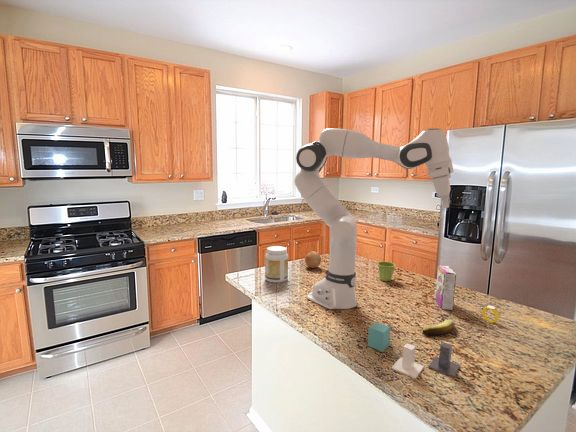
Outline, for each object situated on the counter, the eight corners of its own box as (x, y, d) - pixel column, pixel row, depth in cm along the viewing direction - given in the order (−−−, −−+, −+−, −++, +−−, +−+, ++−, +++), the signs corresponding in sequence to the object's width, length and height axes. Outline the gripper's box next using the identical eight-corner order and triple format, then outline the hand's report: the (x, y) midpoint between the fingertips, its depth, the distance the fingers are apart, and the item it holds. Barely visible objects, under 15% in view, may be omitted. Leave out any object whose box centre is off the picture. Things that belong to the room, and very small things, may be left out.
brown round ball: (316, 271, 186) (316, 254, 184) (301, 268, 191) (301, 251, 190) (323, 267, 194) (324, 251, 192) (309, 264, 199) (309, 248, 198)
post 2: (428, 367, 96) (430, 345, 95) (435, 357, 102) (437, 336, 101) (453, 377, 92) (456, 354, 91) (459, 366, 97) (462, 344, 96)
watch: (498, 324, 125) (501, 310, 124) (493, 325, 125) (495, 311, 123) (485, 316, 131) (487, 303, 130) (479, 317, 130) (482, 304, 129)
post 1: (391, 368, 95) (393, 346, 94) (400, 358, 101) (402, 337, 100) (415, 379, 91) (417, 356, 90) (423, 367, 96) (425, 346, 95)
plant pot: (396, 278, 175) (397, 263, 174) (391, 283, 167) (392, 267, 166) (379, 275, 180) (380, 260, 179) (374, 280, 172) (375, 264, 171)
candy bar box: (434, 299, 148) (437, 264, 146) (446, 300, 147) (449, 265, 145) (440, 309, 137) (444, 272, 135) (453, 310, 136) (457, 273, 134)
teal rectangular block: (367, 345, 108) (368, 327, 107) (374, 339, 112) (375, 321, 111) (382, 351, 104) (383, 332, 103) (389, 345, 108) (390, 326, 107)
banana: (446, 364, 99) (448, 352, 99) (378, 327, 122) (378, 317, 121) (501, 334, 118) (502, 324, 118) (433, 307, 141) (434, 299, 140)
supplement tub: (280, 274, 179) (281, 244, 177) (292, 280, 169) (293, 249, 167) (261, 277, 173) (261, 246, 170) (271, 284, 163) (272, 252, 160)
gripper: (433, 170, 134) (440, 203, 135) (429, 174, 116) (436, 211, 117) (450, 167, 131) (456, 200, 132) (448, 170, 113) (456, 208, 114)
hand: (447, 205), depth 125 cm, fingers open, 8 cm apart
